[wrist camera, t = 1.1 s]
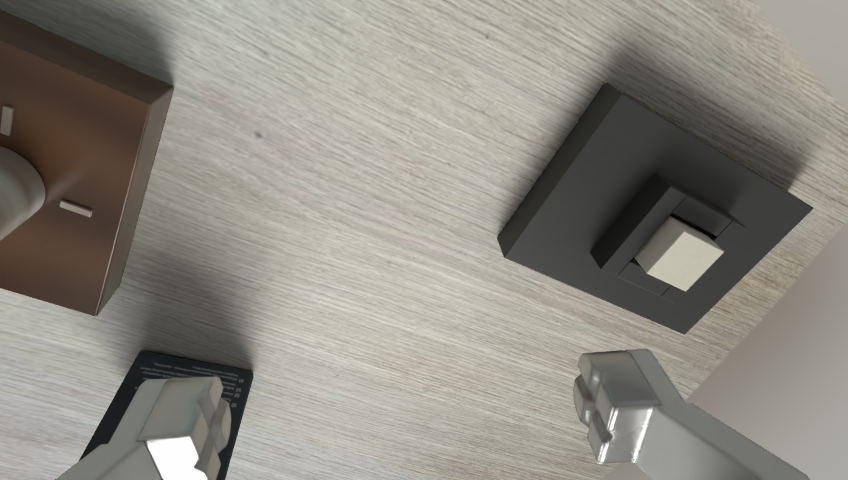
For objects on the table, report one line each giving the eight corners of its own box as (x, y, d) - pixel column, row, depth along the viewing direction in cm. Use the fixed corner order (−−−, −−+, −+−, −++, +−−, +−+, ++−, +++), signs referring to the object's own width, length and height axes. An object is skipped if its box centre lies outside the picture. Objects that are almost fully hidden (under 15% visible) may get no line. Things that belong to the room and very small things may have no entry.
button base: (605, 81, 27) (637, 103, 23) (788, 191, 31) (837, 223, 28) (496, 238, 32) (510, 275, 28) (669, 314, 36) (698, 353, 33)
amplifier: (-81, -27, 22) (-145, -22, 19) (174, 87, 25) (149, 105, 23) (-87, 220, 28) (-136, 250, 25) (119, 286, 31) (95, 319, 29)
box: (134, 400, 37) (54, 550, 28) (141, 346, 34) (55, 494, 25) (242, 419, 39) (200, 566, 30) (256, 369, 36) (215, 514, 27)
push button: (668, 214, 27) (684, 231, 26) (706, 235, 28) (725, 251, 27) (632, 255, 29) (646, 273, 27) (670, 273, 30) (686, 292, 28)
